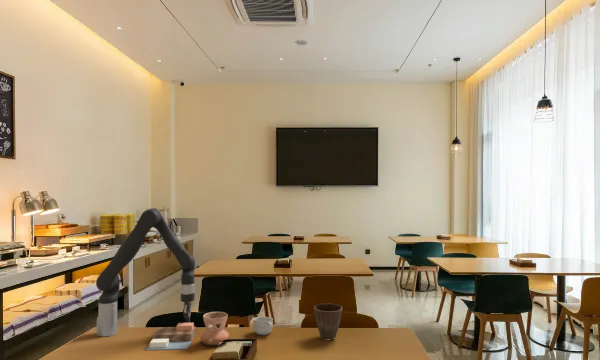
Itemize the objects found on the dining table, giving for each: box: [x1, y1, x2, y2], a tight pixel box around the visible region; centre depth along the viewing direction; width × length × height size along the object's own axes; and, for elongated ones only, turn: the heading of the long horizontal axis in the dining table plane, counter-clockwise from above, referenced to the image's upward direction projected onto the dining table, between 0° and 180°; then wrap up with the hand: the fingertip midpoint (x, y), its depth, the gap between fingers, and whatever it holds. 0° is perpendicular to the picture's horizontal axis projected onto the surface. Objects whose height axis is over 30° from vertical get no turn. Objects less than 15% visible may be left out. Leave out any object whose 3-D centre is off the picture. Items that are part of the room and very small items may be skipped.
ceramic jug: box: [200, 311, 230, 346], centre depth 207 cm, size 18×14×14 cm
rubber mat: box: [145, 341, 192, 351], centre depth 202 cm, size 20×10×1 cm, turn 94°
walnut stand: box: [151, 326, 197, 343], centre depth 213 cm, size 20×12×4 cm, turn 94°
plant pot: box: [313, 303, 343, 340], centre depth 214 cm, size 15×15×16 cm
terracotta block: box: [175, 322, 195, 331], centre depth 216 cm, size 8×5×2 cm, turn 94°
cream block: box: [149, 338, 169, 348], centre depth 201 cm, size 8×5×2 cm, turn 94°
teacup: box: [252, 316, 274, 336], centre depth 220 cm, size 14×11×8 cm
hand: (187, 323), depth 221 cm, fingers closed
